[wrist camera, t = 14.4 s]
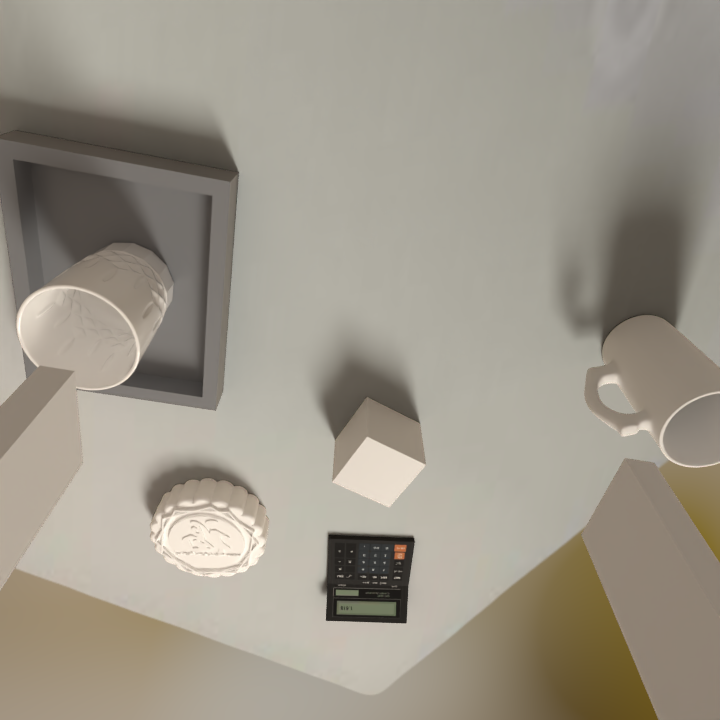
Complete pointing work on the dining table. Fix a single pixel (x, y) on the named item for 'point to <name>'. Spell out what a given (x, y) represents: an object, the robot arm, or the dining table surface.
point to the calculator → (368, 578)
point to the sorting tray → (129, 225)
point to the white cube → (378, 453)
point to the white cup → (97, 315)
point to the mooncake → (210, 528)
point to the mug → (661, 389)
